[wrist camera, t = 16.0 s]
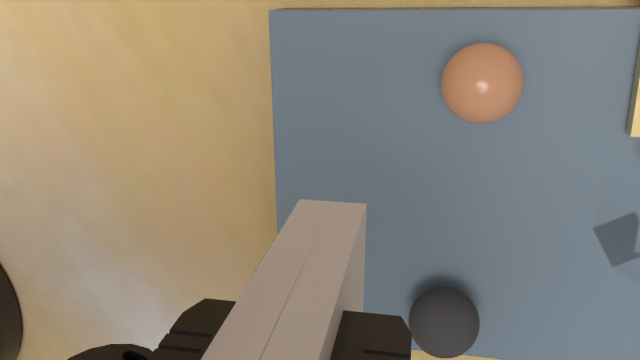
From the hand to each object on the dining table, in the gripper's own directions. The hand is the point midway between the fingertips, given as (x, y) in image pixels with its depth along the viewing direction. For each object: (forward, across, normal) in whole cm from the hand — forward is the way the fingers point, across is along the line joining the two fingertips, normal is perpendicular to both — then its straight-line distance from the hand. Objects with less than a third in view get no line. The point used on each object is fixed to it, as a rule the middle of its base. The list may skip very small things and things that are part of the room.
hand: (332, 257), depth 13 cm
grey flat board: (+19, +8, -4) cm, 21 cm away
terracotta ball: (+15, +4, +2) cm, 15 cm away
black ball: (+15, +3, -10) cm, 18 cm away
